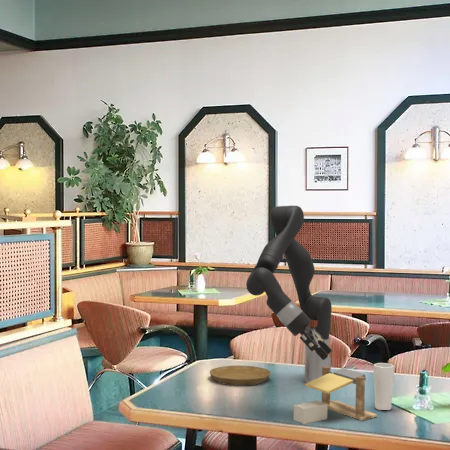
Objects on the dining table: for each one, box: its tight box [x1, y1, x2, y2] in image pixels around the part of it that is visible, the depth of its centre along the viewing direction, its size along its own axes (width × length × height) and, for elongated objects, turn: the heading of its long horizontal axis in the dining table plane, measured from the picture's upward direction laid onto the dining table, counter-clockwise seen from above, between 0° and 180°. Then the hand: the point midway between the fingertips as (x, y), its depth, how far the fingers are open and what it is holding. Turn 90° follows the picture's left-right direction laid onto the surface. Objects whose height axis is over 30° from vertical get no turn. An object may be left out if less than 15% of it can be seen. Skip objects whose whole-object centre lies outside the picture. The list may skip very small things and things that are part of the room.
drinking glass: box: [373, 362, 395, 411], centre depth 243 cm, size 7×7×15 cm
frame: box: [321, 366, 378, 422], centre depth 240 cm, size 7×20×14 cm, turn 34°
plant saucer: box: [209, 365, 272, 386], centre depth 282 cm, size 24×24×3 cm
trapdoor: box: [304, 367, 367, 394], centre depth 236 cm, size 17×11×2 cm
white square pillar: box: [293, 400, 328, 425], centre depth 231 cm, size 5×5×10 cm
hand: (327, 355), depth 233 cm, fingers open, 8 cm apart
